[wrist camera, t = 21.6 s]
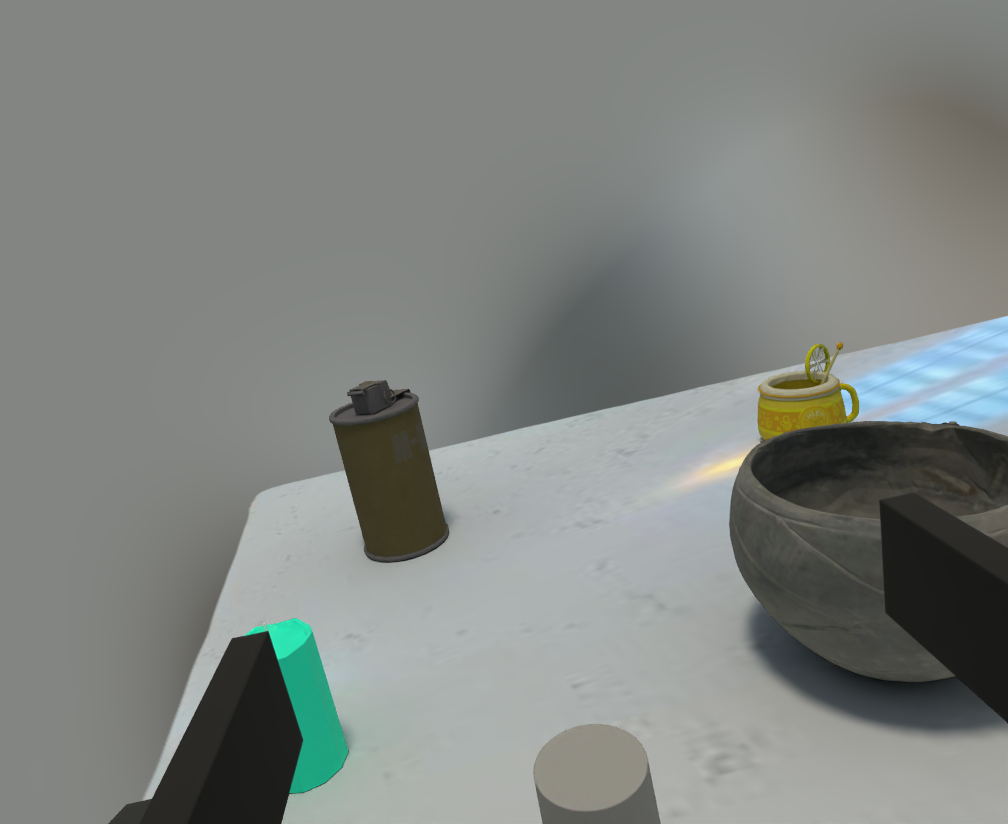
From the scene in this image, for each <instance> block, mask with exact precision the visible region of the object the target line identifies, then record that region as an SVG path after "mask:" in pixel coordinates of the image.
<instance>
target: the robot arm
mask: <svg viewBox="0 0 1008 824" xmlns="http://www.w3.org/2000/svg"><path fill="white" fill-rule="evenodd" d="M879 505H880V523H881V542H882V560H883V578H884V597H885V613H886V614H887V615H888V616H889V617H890V618H892V619H893V620H894V621H895V622H896V623H897V624H898V625H899V626H900V627H902V628H903V629H904V630H905V631H906V632H907V633H908V634H909V635H911V636H912V637H913V638H914V639H915V640H916V641H917V642H918V643H919V644H921V645H922V646H923V647H924V648H925V649H926V650H927V651H928V652H929V653H931V654H932V655H933V656H934V657H935V658H936V659H937V660H938V661H939V662H941V663H942V664H943V665H944V666H945V667H946V668H947V669H948V670H949V671H951V672H952V673H953V674H954V675H955V676H956V677H957V678H958V679H959V680H961V681H962V682H963V683H964V684H965V685H966V686H967V687H968V688H969V689H971V690H972V691H973V692H974V693H975V694H976V695H977V696H978V697H979V698H981V699H982V700H983V701H984V702H985V703H986V704H987V705H988V706H989V707H991V708H992V709H993V710H994V711H995V712H996V713H997V714H998V715H999V716H1001V717H1002V718H1003V719H1004V720H1005V721H1006V722H1007V723H1008V548H1007V547H1006V546H1004V545H1002V544H1001V543H999V542H997V541H996V540H994V539H992V538H990V537H989V536H987V535H985V534H984V533H982V532H980V531H979V530H977V529H975V528H973V527H972V526H970V525H968V524H967V523H965V522H963V521H962V520H960V519H958V518H957V517H955V516H953V515H951V514H950V513H948V512H946V511H945V510H943V509H941V508H940V507H938V506H936V505H934V504H933V503H931V502H929V501H928V500H926V499H924V498H923V497H921V496H919V495H917V494H916V493H909V494H904V495H900V496H895V497H890V498H886V499H881V500H879ZM302 744H303V737H302V734H301V731H300V728H299V725H298V722H297V719H296V715H295V712H294V709H293V706H292V703H291V700H290V697H289V694H288V690H287V687H286V684H285V681H284V678H283V675H282V672H281V669H280V665H279V662H278V659H277V656H276V653H275V650H274V647H273V644H272V640H271V637H270V634H269V631H265V632H260V633H256V634H251V635H246V636H242V637H237V638H232V639H231V641H230V643H229V645H228V647H227V649H226V651H225V653H224V655H223V657H222V659H221V661H220V663H219V665H218V667H217V669H216V671H215V673H214V675H213V677H212V679H211V681H210V683H209V686H208V688H207V690H206V692H205V694H204V696H203V698H202V700H201V702H200V704H199V706H198V708H197V710H196V712H195V714H194V716H193V718H192V720H191V722H190V724H189V726H188V728H187V730H186V732H185V734H184V736H183V738H182V740H181V742H180V744H179V746H178V748H177V750H176V752H175V754H174V756H173V758H172V760H171V762H170V764H169V766H168V768H167V770H166V772H165V774H164V776H163V778H162V780H161V782H160V784H159V786H158V788H157V790H156V792H155V794H154V796H153V798H152V799H150V800H145V801H141V802H136V803H131V804H127V805H126V806H125V807H124V808H123V809H122V810H121V811H120V812H119V813H118V814H117V815H116V816H115V817H114V818H113V820H111V822H110V823H109V824H281V823H282V819H283V815H284V811H285V807H286V804H287V800H288V796H289V792H290V789H291V785H292V781H293V777H294V774H295V770H296V766H297V762H298V759H299V755H300V751H301V747H302Z"/></svg>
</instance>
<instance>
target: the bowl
mask: <svg viewBox="0 0 1008 824" xmlns="http://www.w3.org/2000/svg"><path fill="white" fill-rule="evenodd" d="M909 493H916V494H917V495H919V496H921V497H923V498H924V499H926V500H928V501H929V502H931V503H933V504H934V505H936V506H938V507H940V508H941V509H943V510H945V511H946V512H948V513H950V514H951V515H953V516H955V517H957V518H958V519H960V520H962V521H963V522H965V523H967V524H968V525H970V526H972V527H973V528H975V529H977V530H979V531H980V532H982V533H984V534H985V535H987V536H989V537H990V538H992V539H994V540H996V541H997V542H999V543H1001V544H1002V545H1004V546H1006V547H1007V548H1008V437H1007V436H1004V435H1001V434H997V433H994V432H991V431H987V430H983V429H978V428H972V427H967V426H956V425H949V424H930V423H926V422H922V423H915V422H905V423H904V422H887V421H864V422H852V423H841V424H832V425H824V426H816V427H809V428H803V429H798V430H794V431H790V432H785V433H783V434H781V435H778V436H775V437H773V438H770V439H767V440H766V441H764V442H762V443H760V444H759V445H757V446H756V447H754V448H753V449H752V450H751V452H750V453H749V454H748V455H747V457H746V458H745V460H744V461H743V463H742V465H741V467H740V469H739V472H738V475H737V477H736V480H735V483H734V486H733V491H732V497H731V506H730V522H729V527H730V538H731V542H732V546H733V551H734V555H735V559H736V562H737V565H738V568H739V570H740V572H741V574H742V576H743V578H744V580H745V582H746V583H747V585H748V586H749V588H750V589H751V591H752V592H753V594H754V596H755V597H756V598H757V599H758V601H759V602H760V603H761V604H762V605H763V606H764V608H765V609H766V610H767V611H768V612H769V614H770V615H771V616H772V617H773V618H774V619H776V621H777V622H778V623H779V624H780V625H781V626H782V627H783V628H784V629H785V630H786V631H787V632H788V633H789V634H791V635H792V636H793V637H794V638H796V639H797V640H798V641H799V642H801V643H802V644H803V645H804V646H806V647H808V648H809V649H810V650H812V651H813V652H815V653H816V654H818V655H820V656H821V657H823V658H825V659H827V660H828V661H830V662H832V663H833V664H835V665H838V666H840V667H842V668H845V669H847V670H849V671H851V672H854V673H857V674H860V675H863V676H868V677H872V678H877V679H882V680H889V681H903V682H926V681H933V680H939V679H945V678H950V677H954V676H955V675H954V674H953V673H952V672H951V671H949V670H948V669H947V668H946V667H945V666H944V665H943V664H942V663H941V662H939V661H938V660H937V659H936V658H935V657H934V656H933V655H932V654H931V653H929V652H928V651H927V650H926V649H925V648H924V647H923V646H922V645H921V644H919V643H918V642H917V641H916V640H915V639H914V638H913V637H912V636H911V635H909V634H908V633H907V632H906V631H905V630H904V629H903V628H902V627H900V626H899V625H898V624H897V623H896V622H895V621H894V620H893V619H892V618H890V617H889V616H888V615H887V614H886V613H885V597H884V578H883V560H882V542H881V523H880V505H879V500H881V499H886V498H890V497H895V496H900V495H904V494H909Z"/></svg>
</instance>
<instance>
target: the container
mask: <svg viewBox="0 0 1008 824" xmlns="http://www.w3.org/2000/svg"><path fill="white" fill-rule="evenodd" d="M534 780H535V786H536V791H537V796H538V801H539V807H540V812H541V817H542V823H543V824H661V823H660V818H659V813H658V808H657V804H656V799H655V794H654V789H653V784H652V779H651V774H650V769H649V764H648V759H647V755H646V752H645V750H644V748H643V746H642V745H641V743H640V742H639V741H638V740H637V739H636V738H635V737H634V736H633V735H631V734H630V733H628V732H626V731H624V730H622V729H620V728H617V727H613V726H609V725H601V724H590V725H583V726H578V727H574V728H571V729H569V730H566V731H564V732H562V733H560V734H558V735H557V736H555V737H554V738H552V739H551V740H550V741H549V742H548V743H547V744H546V745H545V746H544V747H543V748H542V750H541V751H540V753H539V754H538V756H537V758H536V761H535V765H534Z"/></svg>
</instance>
